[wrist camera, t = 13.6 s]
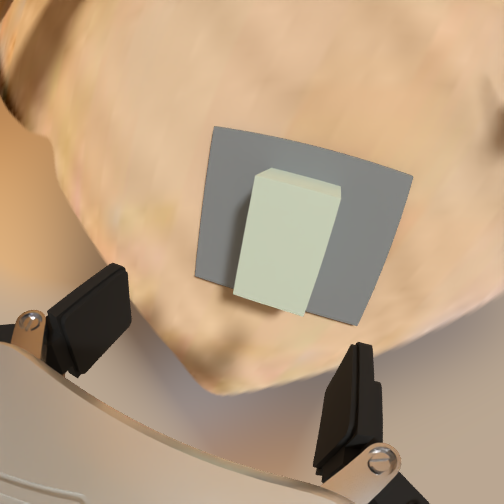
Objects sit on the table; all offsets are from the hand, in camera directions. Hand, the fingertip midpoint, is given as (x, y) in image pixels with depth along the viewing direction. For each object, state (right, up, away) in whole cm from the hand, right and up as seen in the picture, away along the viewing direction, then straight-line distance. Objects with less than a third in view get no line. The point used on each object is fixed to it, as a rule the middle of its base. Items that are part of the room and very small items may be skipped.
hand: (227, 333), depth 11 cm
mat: (+4, +5, +13) cm, 15 cm away
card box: (+4, +5, +13) cm, 14 cm away
